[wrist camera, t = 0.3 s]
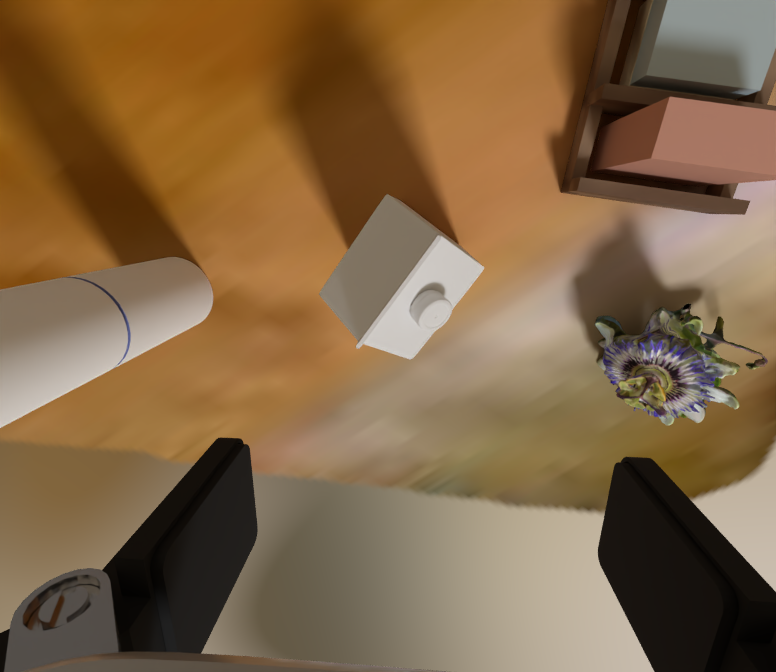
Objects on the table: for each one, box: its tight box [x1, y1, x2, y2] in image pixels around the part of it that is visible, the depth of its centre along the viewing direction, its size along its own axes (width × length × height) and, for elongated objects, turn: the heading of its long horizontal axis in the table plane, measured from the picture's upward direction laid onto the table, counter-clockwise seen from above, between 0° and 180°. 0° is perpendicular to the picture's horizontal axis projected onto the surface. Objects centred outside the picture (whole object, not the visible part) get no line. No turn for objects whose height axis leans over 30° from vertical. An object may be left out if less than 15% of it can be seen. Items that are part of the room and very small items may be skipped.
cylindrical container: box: [0, 257, 213, 428], centre depth 30 cm, size 7×7×25 cm
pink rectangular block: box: [590, 97, 776, 186], centre depth 31 cm, size 4×9×10 cm, turn 82°
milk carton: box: [319, 194, 484, 359], centre depth 30 cm, size 7×7×19 cm
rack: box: [561, 0, 776, 214], centre depth 32 cm, size 16×13×4 cm
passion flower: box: [595, 304, 767, 425], centre depth 37 cm, size 11×11×12 cm
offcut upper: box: [630, 0, 776, 99], centre depth 30 cm, size 6×8×2 cm
